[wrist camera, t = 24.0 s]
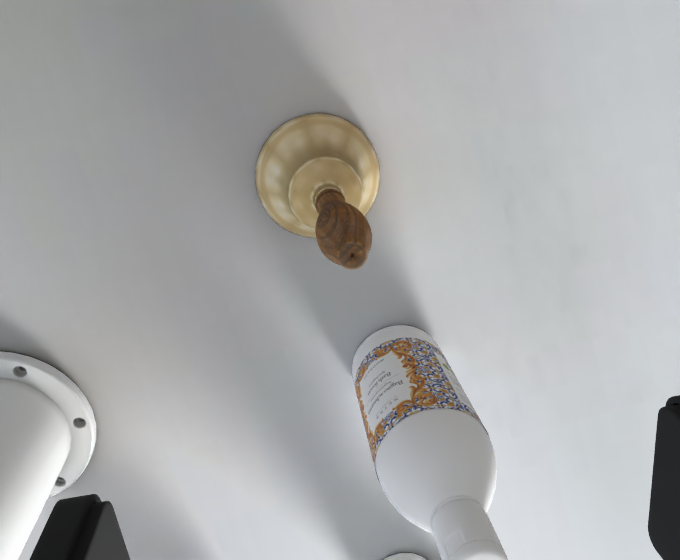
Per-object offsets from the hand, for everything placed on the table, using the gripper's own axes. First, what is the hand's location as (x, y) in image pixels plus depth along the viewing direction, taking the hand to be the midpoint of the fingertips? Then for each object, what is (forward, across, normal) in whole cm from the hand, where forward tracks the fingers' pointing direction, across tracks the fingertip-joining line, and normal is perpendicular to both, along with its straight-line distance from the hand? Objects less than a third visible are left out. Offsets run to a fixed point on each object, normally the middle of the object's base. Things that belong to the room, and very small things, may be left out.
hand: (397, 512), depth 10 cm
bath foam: (+32, -5, +16) cm, 37 cm away
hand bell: (+32, -1, +1) cm, 33 cm away
